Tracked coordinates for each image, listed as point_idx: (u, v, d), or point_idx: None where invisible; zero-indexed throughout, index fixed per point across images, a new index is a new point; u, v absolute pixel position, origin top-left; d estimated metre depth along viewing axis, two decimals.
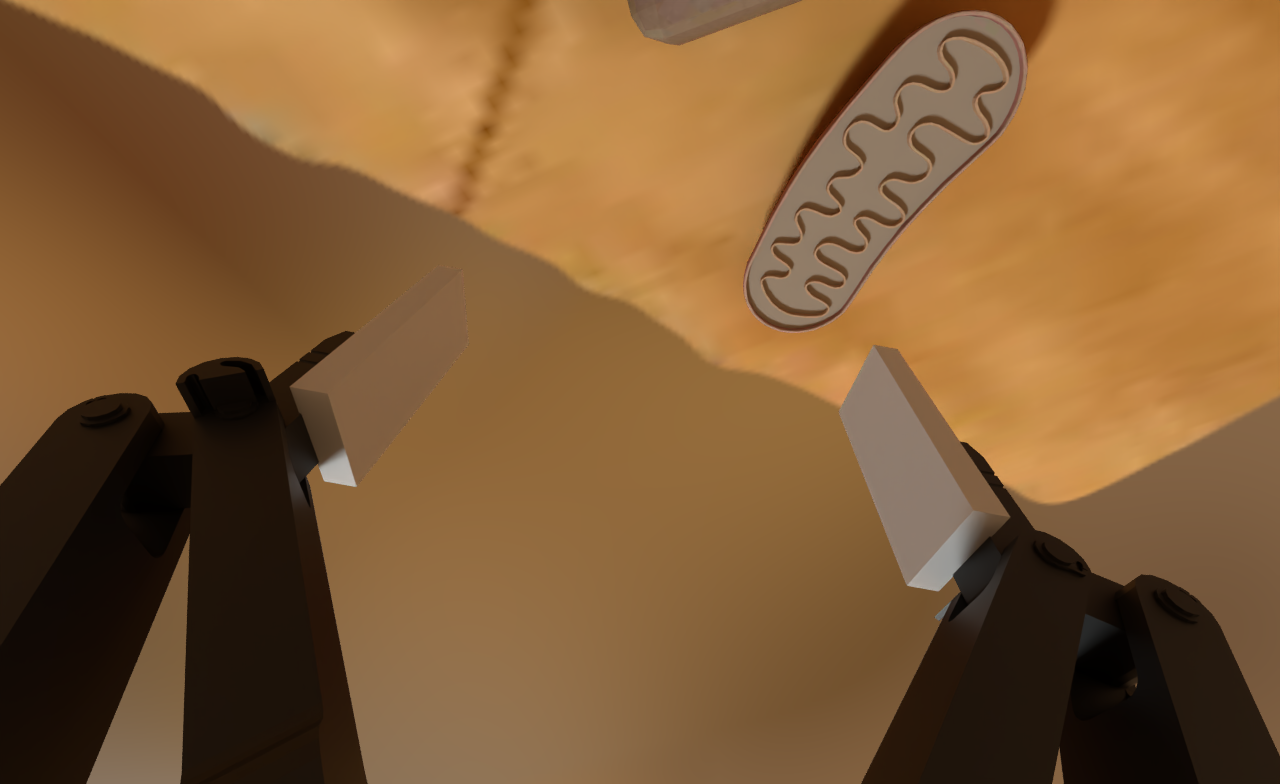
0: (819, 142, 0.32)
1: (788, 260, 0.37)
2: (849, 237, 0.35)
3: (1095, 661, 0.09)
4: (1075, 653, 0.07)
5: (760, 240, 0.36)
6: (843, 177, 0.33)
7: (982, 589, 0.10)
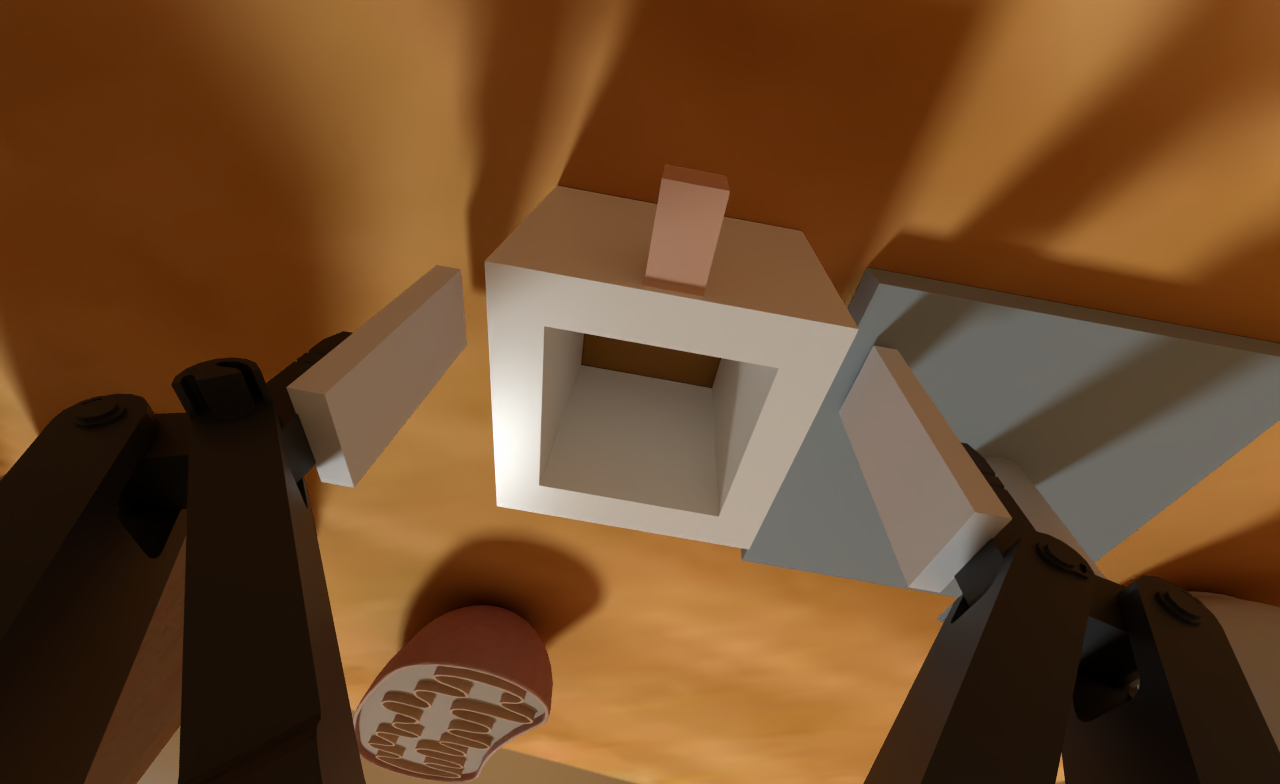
0: (360, 703, 0.28)
1: (397, 745, 0.33)
2: None
3: (1097, 663, 0.09)
4: (1078, 655, 0.07)
5: None
6: (403, 722, 0.29)
7: (985, 591, 0.10)
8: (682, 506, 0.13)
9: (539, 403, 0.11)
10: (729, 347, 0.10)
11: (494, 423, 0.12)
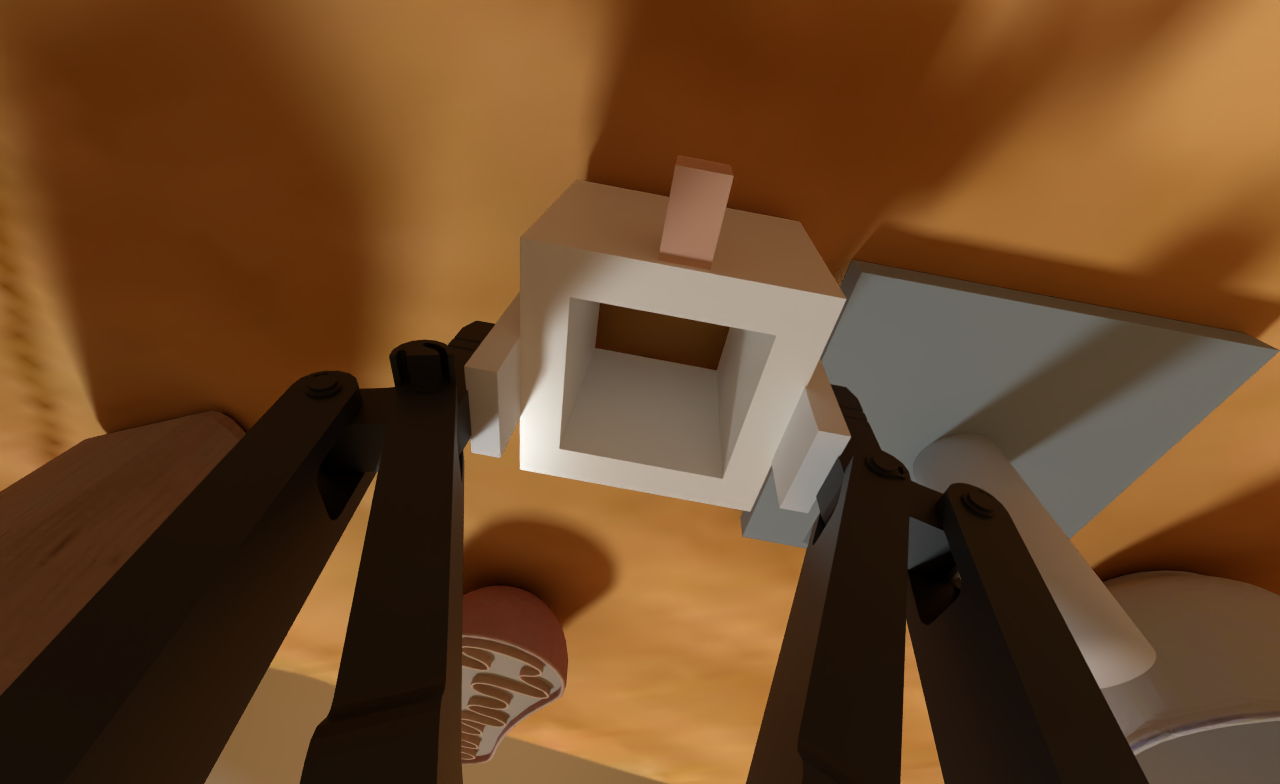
0: None
1: None
2: None
3: (919, 558, 0.10)
4: (906, 547, 0.08)
5: None
6: None
7: (834, 509, 0.11)
8: (689, 469, 0.14)
9: (562, 369, 0.12)
10: (732, 316, 0.11)
11: (521, 389, 0.13)
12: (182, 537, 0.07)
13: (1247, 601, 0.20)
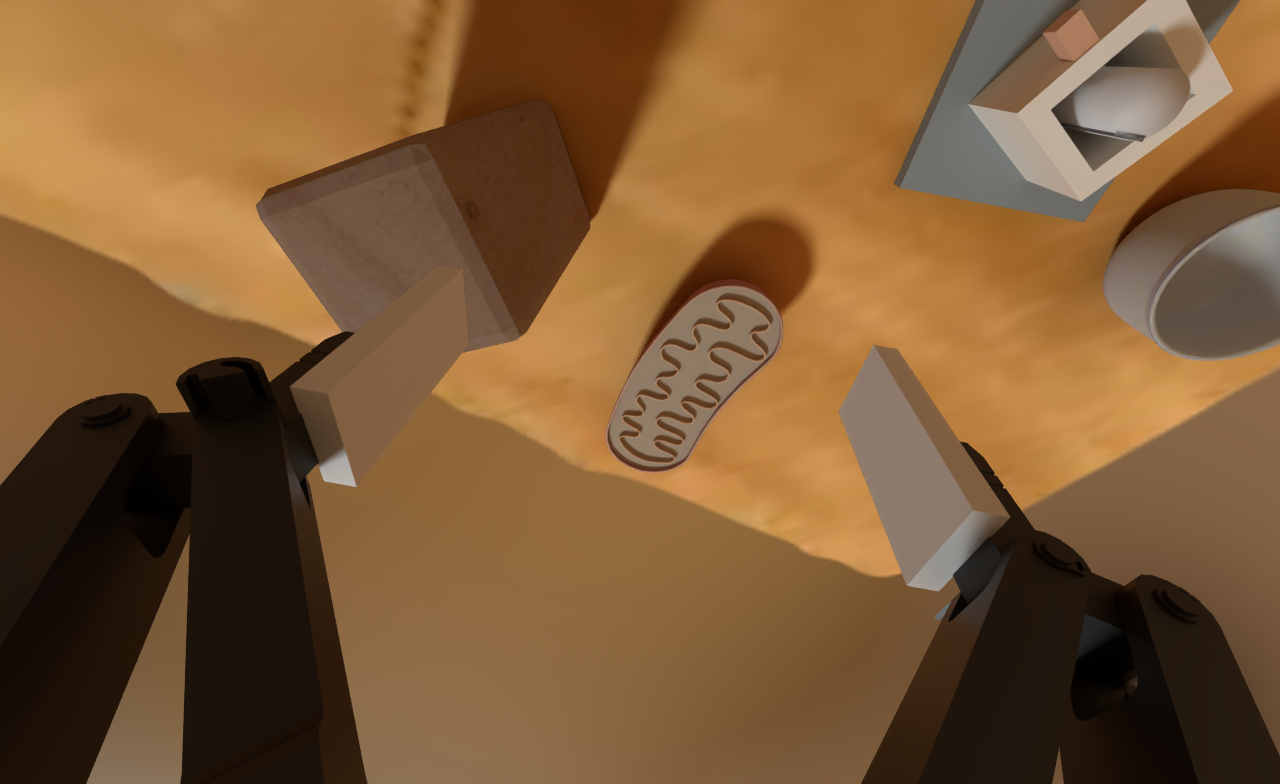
0: (642, 355, 0.41)
1: (637, 424, 0.47)
2: (680, 412, 0.45)
3: (1096, 661, 0.09)
4: (1075, 653, 0.07)
5: (612, 412, 0.46)
6: (665, 377, 0.42)
7: (982, 589, 0.10)
8: None
9: (1068, 137, 0.27)
10: (1127, 38, 0.24)
11: (1055, 164, 0.28)
12: None
13: (1239, 189, 0.31)
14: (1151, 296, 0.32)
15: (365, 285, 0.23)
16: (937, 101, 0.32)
